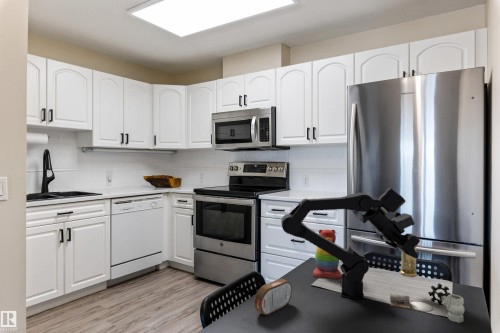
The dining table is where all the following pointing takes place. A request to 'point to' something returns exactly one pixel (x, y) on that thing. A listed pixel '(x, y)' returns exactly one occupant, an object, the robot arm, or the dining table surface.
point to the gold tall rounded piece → (408, 265)
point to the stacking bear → (326, 259)
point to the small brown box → (399, 300)
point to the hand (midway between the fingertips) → (412, 255)
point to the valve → (449, 303)
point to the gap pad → (420, 306)
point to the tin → (273, 296)
